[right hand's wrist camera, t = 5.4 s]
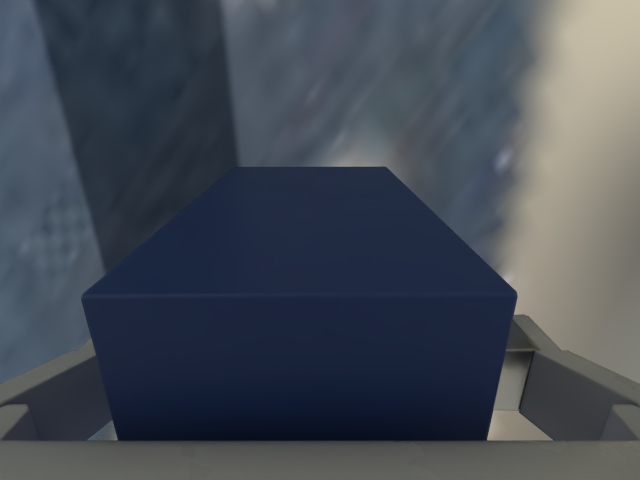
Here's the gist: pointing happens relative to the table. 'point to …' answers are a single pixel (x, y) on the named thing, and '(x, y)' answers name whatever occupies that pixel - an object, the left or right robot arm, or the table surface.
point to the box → (302, 317)
